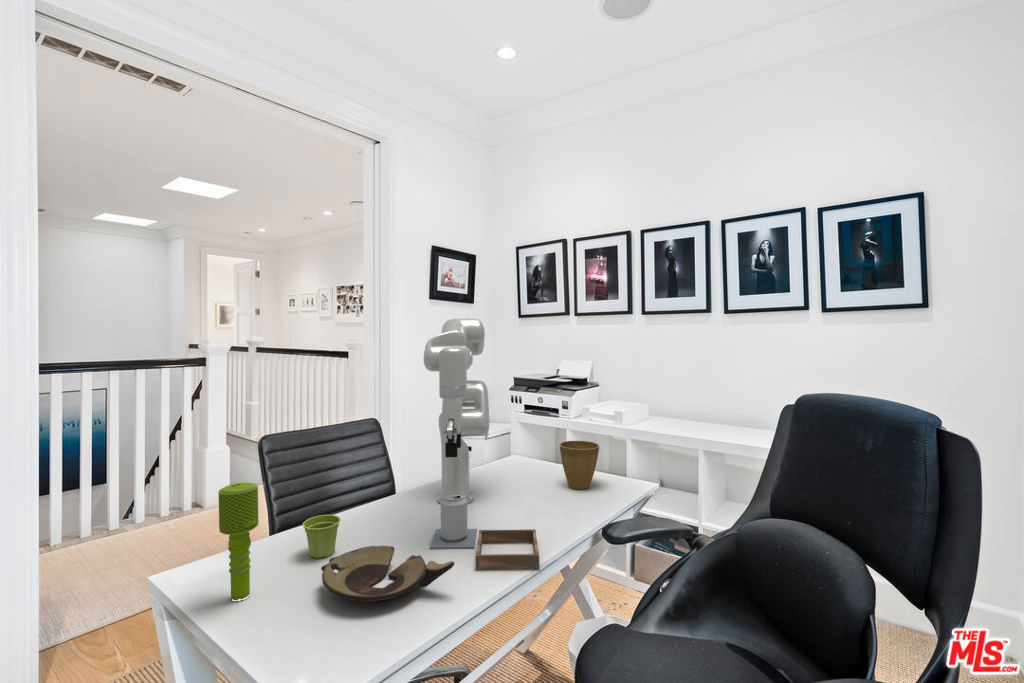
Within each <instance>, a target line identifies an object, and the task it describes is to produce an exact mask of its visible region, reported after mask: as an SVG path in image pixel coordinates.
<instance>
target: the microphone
mask: <svg viewBox="0 0 1024 683" xmlns="http://www.w3.org/2000/svg"><path fill="white" fill-rule="evenodd" d="M217 492H218V493H217V494H218V528H219V533H221V534H222V535H226V536H227V535H228V543H227V546H228V547H227V550H228V552H230V554H229V555H228V558H229V563H228V566H229V567H230V568H229V570H228V572H229V574H230V600H231V599H233V600H238V599H243V598H245V597H247V596H248V595H249V594H250V595H251V592H250V591H251V583H250V582H251V581H250V580H251V577H250V576H251V574H250V571H251V568H252V565H251V564H250V563H251V561H252V560H251V558H250V555H251V551H250V550H249V549H250V548H251V543H252V541H251V540H252V539H251V537H250V535H251V534H250V531H252V530H255V528H256V527H258V526H259V486H258V484H257V483H253V482H237V483H232V484H229V485H225V487H224V486H223V488H220V489H219V490H218V491H217Z"/></svg>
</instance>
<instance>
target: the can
mask: <svg viewBox="0 0 1024 683" xmlns="http://www.w3.org/2000/svg"><path fill="white" fill-rule="evenodd" d="M439 504H440V505H439V506H440V529H441V537H443V538H444V539H445V540H447V541H460V540H462V539H464V537H465V536H466V535H467V533H468V532H467V529H468V504H467V499H466V498H465V495H464V494H463V493H460V492H450V493H446V494H444V495H443V499H442V500H441V502H440V503H439Z"/></svg>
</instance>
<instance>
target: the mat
mask: <svg viewBox="0 0 1024 683" xmlns="http://www.w3.org/2000/svg"><path fill="white" fill-rule="evenodd" d="M467 532H468V533H467V535H466V536H465V537H464V539H462V540H460V541H447V540H445V539H444V538H443V537H441V528H436V529H435V531H434V533H433V537H432V540H431V542H430V546H429V550H464V549H467V550H469V549H471V550H474V549H475V545H476V538H477V532H478V528H467Z"/></svg>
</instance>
